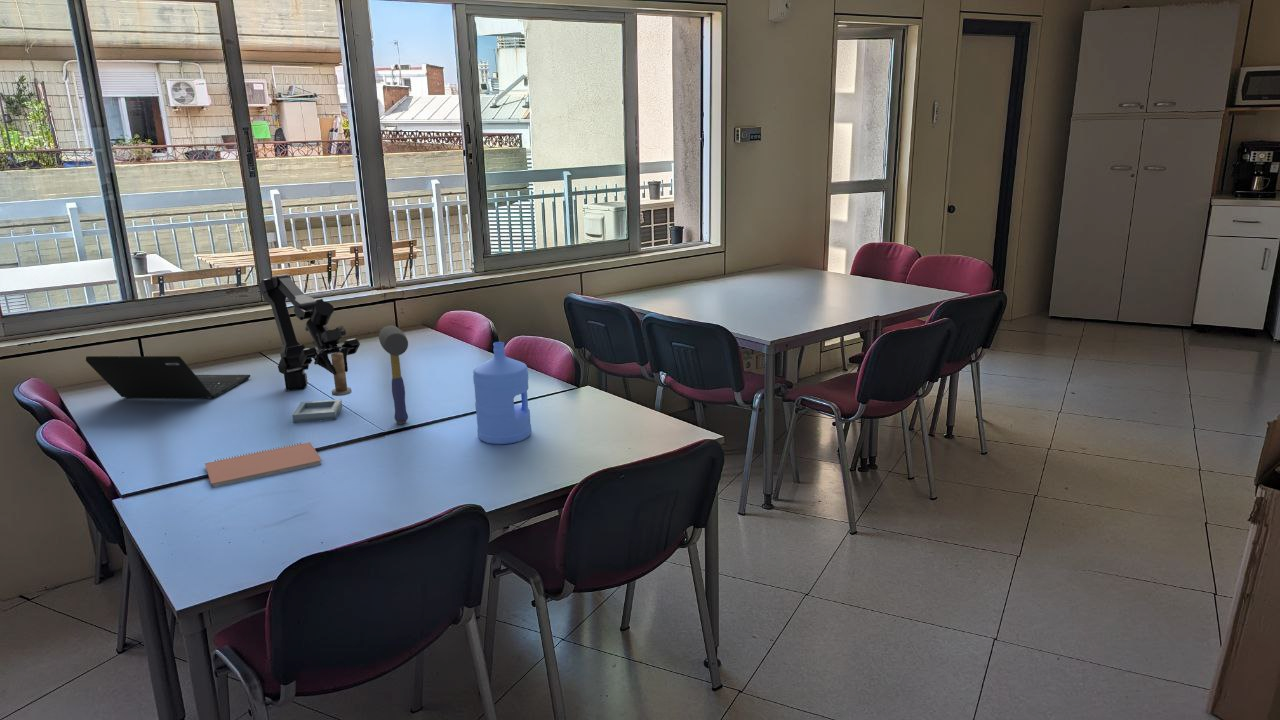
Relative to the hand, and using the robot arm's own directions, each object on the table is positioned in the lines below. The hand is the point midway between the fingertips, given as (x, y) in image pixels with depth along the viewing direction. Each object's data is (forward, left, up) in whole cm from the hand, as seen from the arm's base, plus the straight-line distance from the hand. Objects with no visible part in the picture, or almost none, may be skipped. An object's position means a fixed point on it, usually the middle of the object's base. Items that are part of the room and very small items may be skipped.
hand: (341, 372), depth 268 cm
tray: (-8, -3, -12) cm, 15 cm away
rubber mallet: (+19, -17, -13) cm, 28 cm away
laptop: (-60, +30, -13) cm, 69 cm away
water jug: (+50, -35, -13) cm, 62 cm away
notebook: (-15, -43, -13) cm, 47 cm away
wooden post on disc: (-1, +1, -7) cm, 7 cm away
